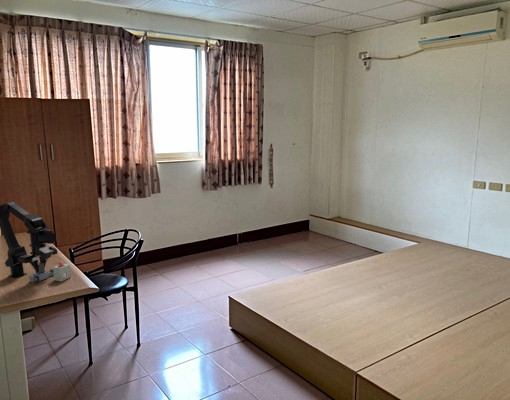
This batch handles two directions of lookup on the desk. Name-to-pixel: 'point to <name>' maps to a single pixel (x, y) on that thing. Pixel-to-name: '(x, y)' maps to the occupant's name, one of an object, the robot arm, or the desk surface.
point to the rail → (36, 278)
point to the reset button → (60, 264)
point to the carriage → (41, 272)
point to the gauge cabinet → (61, 272)
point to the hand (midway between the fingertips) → (40, 271)
